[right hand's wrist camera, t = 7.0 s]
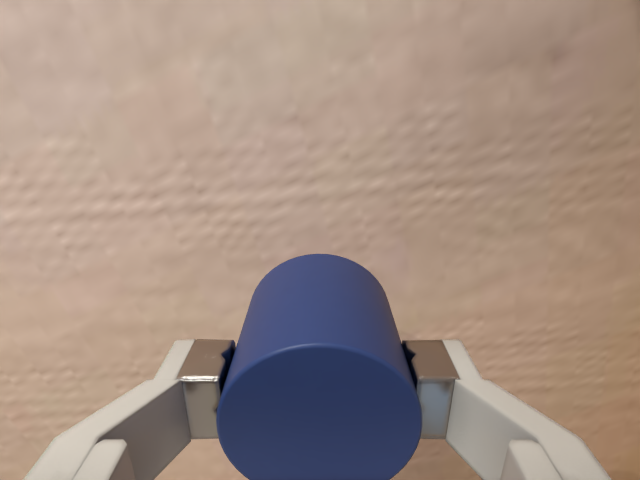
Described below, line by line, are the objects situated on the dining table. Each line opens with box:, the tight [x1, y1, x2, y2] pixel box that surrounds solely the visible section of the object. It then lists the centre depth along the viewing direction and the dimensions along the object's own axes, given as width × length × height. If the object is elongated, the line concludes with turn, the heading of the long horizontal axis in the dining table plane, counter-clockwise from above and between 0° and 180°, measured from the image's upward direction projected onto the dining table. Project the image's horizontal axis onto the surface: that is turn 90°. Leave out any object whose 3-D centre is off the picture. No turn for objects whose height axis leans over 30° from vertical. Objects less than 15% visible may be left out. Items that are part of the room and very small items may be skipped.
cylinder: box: [216, 254, 422, 480], centre depth 11 cm, size 4×4×4 cm
